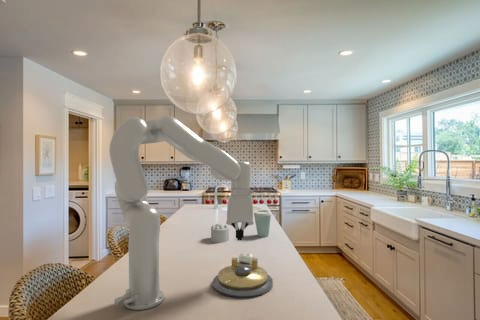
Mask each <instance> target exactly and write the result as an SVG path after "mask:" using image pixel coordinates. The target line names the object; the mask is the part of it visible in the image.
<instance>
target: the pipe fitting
mask: <svg viewBox="0 0 480 320" xmlns="http://www.w3.org/2000/svg"><path fill="white" fill-rule="evenodd" d="M253 258H256V259H258V258H257V257H255V256H253V254H251V253H247V254H244V253H240V255H238V262H240V263H242V264H245V265H252V259H253Z"/></svg>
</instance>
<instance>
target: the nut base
mask: <svg viewBox="0 0 480 320" xmlns="http://www.w3.org/2000/svg"><path fill="white" fill-rule="evenodd" d="M273 283H274V282H273V278H272V276H270V275H269V274H268V273H267V283H266V284H265V285H264V286H262V287H260V288H257V289H254V290H246V291H239V290H231V289H228V288H225V287H223V286H221V285H220V284H219V281H218V274H217V275H216V276H214V278H213V280H212V287H213V290H214V291H215V292H217V293H218V294H220V295H222V296H225V297H229V298H234V299H249V298H256V297H261V296H263V295H265V294H268V293H269V292H270V291H271V290H272V289H273V287H274V286H273Z"/></svg>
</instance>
